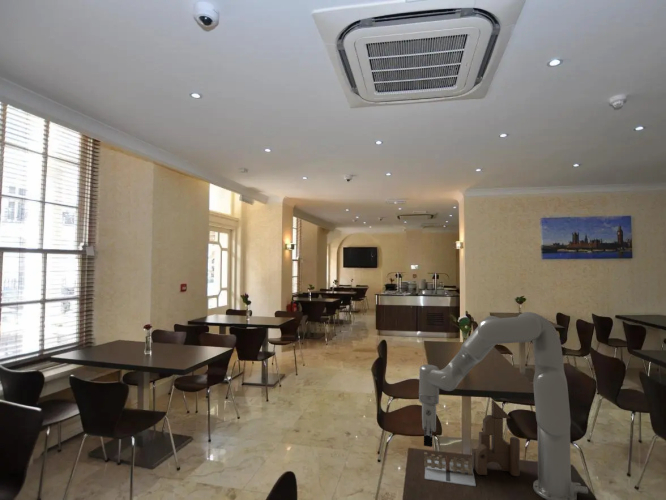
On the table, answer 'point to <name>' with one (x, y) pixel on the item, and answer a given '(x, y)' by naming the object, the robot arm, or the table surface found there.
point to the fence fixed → (462, 465)
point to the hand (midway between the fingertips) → (428, 445)
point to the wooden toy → (496, 445)
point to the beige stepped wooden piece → (437, 460)
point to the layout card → (449, 475)
